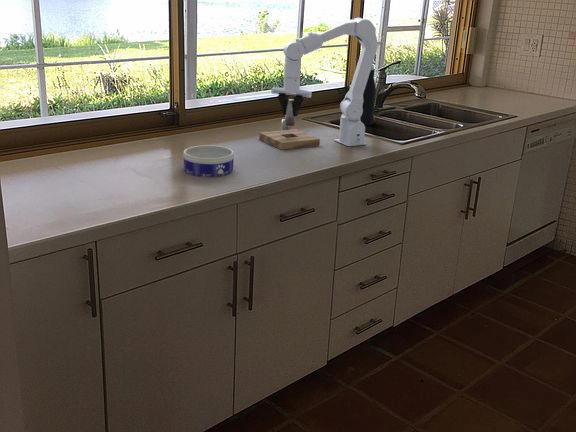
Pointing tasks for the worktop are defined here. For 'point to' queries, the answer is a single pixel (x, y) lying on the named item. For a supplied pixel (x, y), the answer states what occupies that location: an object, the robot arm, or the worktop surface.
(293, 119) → the long pin
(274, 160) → the worktop surface
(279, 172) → the worktop surface
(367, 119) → the wine bottle
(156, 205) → the worktop surface
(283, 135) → the hole plate
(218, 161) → the dog bowl
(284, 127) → the short pin
